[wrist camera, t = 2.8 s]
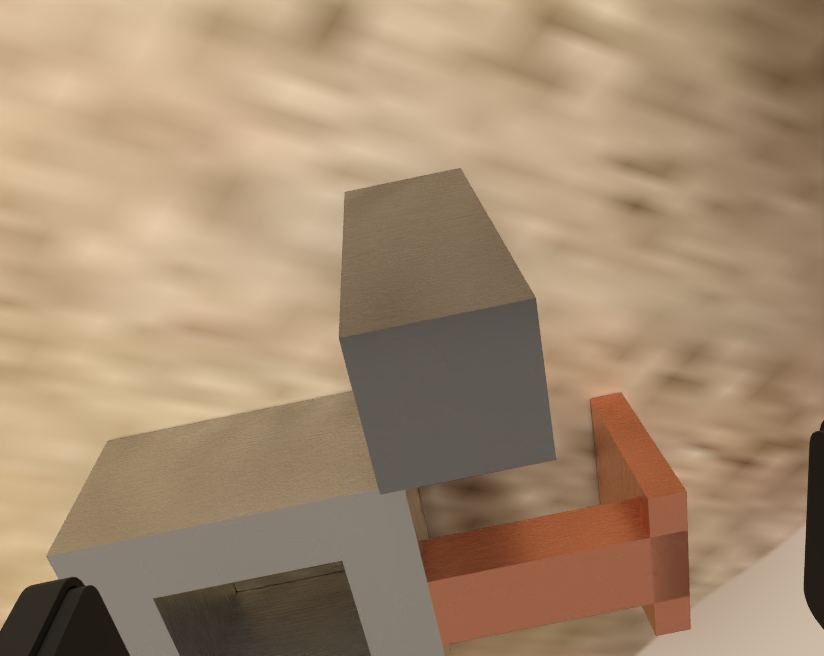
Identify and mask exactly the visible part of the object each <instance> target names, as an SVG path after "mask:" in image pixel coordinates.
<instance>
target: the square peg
mask: <svg viewBox="0 0 824 656" xmlns="http://www.w3.org/2000/svg"><path fill="white" fill-rule="evenodd" d="M339 340H340V344H341V348H342V352H343V356H344V359H345V363H346V367H347V371H348V375H349V379H350V382H351V386H352V390H353V394H354V398H355V401H356V405H357V409H358V413H359V417H360V420H361V424H362V428H363V432H364V436H365V439H366V443H367V447H368V451H369V455H370V459H371V462H372V466H373V470H374V474H375V478H376V481H377V485H378V489H379V493H380V495H382V494H387V493H392V492H397V491H402V490H407V489H412V488H417V487H422V486H427V485H432V484H437V483H442V482H447V481H452V480H457V479H462V478H467V477H472V476H477V475H482V474H487V473H492V472H497V471H502V470H507V469H512V468H517V467H522V466H527V465H532V464H537V463H542V462H547V461H552V460H556V456H555V448H554V440H553V432H552V424H551V416H550V408H549V400H548V392H547V384H546V376H545V368H544V360H543V352H542V344H541V336H540V328H539V320H538V312H537V304H536V298H535V296H534V294H533V292H532V291H531V289H530V287H529V285H528V284H527V282H526V280H525V279H524V277H523V275H522V273H521V272H520V270H519V268H518V266H517V265H516V263H515V261H514V260H513V258H512V256H511V254H510V253H509V251H508V249H507V247H506V246H505V244H504V242H503V241H502V239H501V237H500V235H499V234H498V232H497V230H496V229H495V227H494V225H493V223H492V222H491V220H490V218H489V216H488V215H487V213H486V211H485V210H484V208H483V206H482V204H481V203H480V201H479V199H478V197H477V196H476V194H475V192H474V191H473V189H472V187H471V185H470V184H469V182H468V180H467V178H466V177H465V175H464V173H463V172H462V170H461V168H459V169H454V170H450V171H445V172H440V173H435V174H430V175H425V176H421V177H416V178H411V179H406V180H401V181H396V182H392V183H387V184H382V185H377V186H372V187H367V188H363V189H358V190H353V191H348V192H345V200H344V225H343V249H342V274H341V298H340V323H339Z"/></svg>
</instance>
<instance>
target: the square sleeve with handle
mask: <svg viewBox="0 0 824 656" xmlns="http://www.w3.org/2000/svg"><path fill="white" fill-rule="evenodd" d="M590 401H591V412H592V422H593V433H594V443H595V453H596V464H597V474H598V485H599V495H600V505H597V506H592V507H587V508H582V509H577V510H572V511H567V512H562V513H557V514H552V515H547V516H542V517H537V518H532V519H527V520H522V521H517V522H512V523H507V524H502V525H498V526H493V527H488V528H483V529H478V530H473V531H468V532H463V533H458V534H453V535H448V536H443V537H438V538H433V539H429V536H428V531H427V527H426V523H425V519H424V514H423V510H422V506H421V501H420V497H419V493H418V488H412V489H407V490H402V491H397V492H392V493H387V494H382V495H380V493H379V489H378V485H377V481H376V478H375V474H374V470H373V466H372V462H371V459H370V455H369V451H368V447H367V443H366V439H365V436H364V432H363V428H362V424H361V420H360V417H359V413H358V409H357V405H356V401H355V398H354V394H353V391H351V392H347V393H342V394H337V395H332V396H327V397H322V398H317V399H312V400H307V401H302V402H297V403H292V404H288V405H283V406H278V407H273V408H268V409H263V410H258V411H253V412H248V413H243V414H238V415H234V416H229V417H224V418H219V419H214V420H209V421H204V422H199V423H194V424H189V425H184V426H179V427H175V428H170V429H165V430H160V431H155V432H150V433H145V434H140V435H135V436H130V437H125V438H121V439H116V440H111V441H107V443H106V445H105V447H104V449H103V451H102V452H101V454H100V456H99V458H98V460H97V462H96V464H95V466H94V467H93V469H92V471H91V473H90V475H89V477H88V479H87V480H86V482H85V484H84V486H83V488H82V490H81V492H80V494H79V495H78V497H77V499H76V501H75V503H74V505H73V507H72V509H71V510H70V512H69V514H68V516H67V518H66V520H65V522H64V524H63V525H62V527H61V529H60V531H59V533H58V535H57V537H56V538H55V540H54V542H53V544H52V546H51V548H50V550H49V552H48V553H47V555H46V556H47V558H48V560H49V562H50V564H51V566H52V568H53V569H54V571H55V573H56V575H57V577H58V579H64V578H69V577H77V578H78V579H80V580H81V581H82V582H83V583H84V585H85V586H87V585H93V586H94V587H96V588H97V590H98V591H99V593H100V595H101V597H102V599H103V601H104V603H105V605H106V607H107V609H108V611H109V613H110V615H111V617H112V620H113V622H114V624H115V626H116V628H117V630H118V632H119V634H120V636H121V638H122V640H123V642H124V644H125V646H126V648H127V650H128V652H129V654H130V656H451V650H450V644H451V643H456V642H461V641H466V640H471V639H476V638H481V637H486V636H491V635H496V634H502V633H507V632H512V631H517V630H522V629H527V628H532V627H537V626H542V625H547V624H552V623H557V622H562V621H567V620H572V619H577V618H582V617H587V616H592V615H597V614H602V613H607V612H612V611H617V610H622V609H628V608H633V607H638V606H642V607H643V609H644V611H645V613H646V615H647V617H648V620H649V622H650V624H651V626H652V628H653V630H654V632H655V635H656V636H658V635H663V634H668V633H673V632H678V631H684V630H689V629H690V628H691V626H690V592H689V559H688V525H687V492H686V490H685V489H684V487H683V486H682V484H681V482H680V481H679V479H678V478H677V476H676V475H675V473H674V472H673V470H672V469H671V467H670V466H669V464H668V463H667V461H666V460H665V458H664V457H663V455H662V454H661V452H660V451H659V449H658V448H657V446H656V445H655V443H654V442H653V440H652V439H651V437H650V435H649V434H648V432H647V431H646V429H645V428H644V426H643V425H642V423H641V422H640V420H639V419H638V417H637V416H636V414H635V413H634V411H633V410H632V408H631V407H630V405H629V404H628V402H627V401H626V399H625V398H624V396H623V395H622V393H617V394H612V395H607V396H602V397H597V398H592V399H590ZM338 561H342V562H343V565H344V568H345V571H343V572H338V573H333V574H328V575H323V576H318V577H313V578H308V579H303V580H298V581H293V582H288V583H283V584H278V585H273V586H268V587H263V588H258V589H253V590H248V591H243V592H238V593H237V592H236V590H235V587H234V585H233V582H238V581H243V580H248V579H253V578H258V577H263V576H268V575H273V574H278V573H283V572H288V571H293V570H298V569H303V568H308V567H313V566H318V565H323V564H328V563H333V562H338Z"/></svg>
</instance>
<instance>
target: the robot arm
mask: <svg viewBox="0 0 824 656" xmlns="http://www.w3.org/2000/svg"><path fill="white" fill-rule="evenodd" d="M804 594H805V598H806V601H807V604H808V607H809V608H810V610H811V612H812V614H813V616H814V617H815V619H816V620H817V621H818V623H819V624H820V625H821V627H822V628H823V629H824V421H823V422H822V424H821V428H820V431H817V432H815V433H813V434H812V436H811V438H810V448H809V472H808V495H807V519H806V544H805V568H804ZM0 656H130V654H129V652H128V650H127V648H126V646H125V644H124V642H123V640H122V638H121V636H120V634H119V632H118V630H117V628H116V626H115V624H114V622H113V620H112V617H111V615H110V613H109V611H108V609H107V607H106V605H105V603H104V601H103V599H102V597H101V595H100V593H99V591H98V590H97V588H96V587H94V586H93V585H87V586H85V585H84V583H83V582H82V581H81V580H80V579H78V578H77V577H69V578H64V579H59V580H55V581H50V582H45V583H40V584H36V585H31V586H29V587H27V588H26V589H25V590H24V591H23V592H22V593H21V595H20V596H19V598H18V600H17V602H16V604H15V605H14V607H13V609H12V611H11V613H10V614H9V616H8V618H7V620H6V622H5V623H4V625H3V627H2V629H1V631H0Z"/></svg>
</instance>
